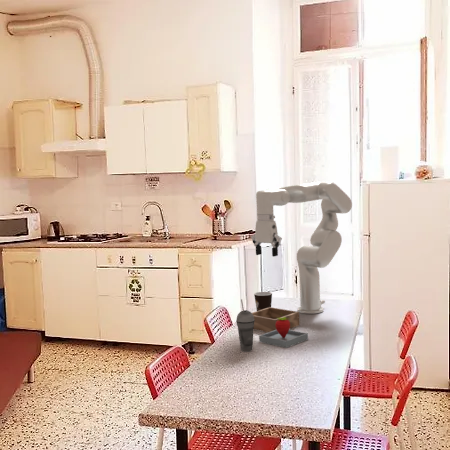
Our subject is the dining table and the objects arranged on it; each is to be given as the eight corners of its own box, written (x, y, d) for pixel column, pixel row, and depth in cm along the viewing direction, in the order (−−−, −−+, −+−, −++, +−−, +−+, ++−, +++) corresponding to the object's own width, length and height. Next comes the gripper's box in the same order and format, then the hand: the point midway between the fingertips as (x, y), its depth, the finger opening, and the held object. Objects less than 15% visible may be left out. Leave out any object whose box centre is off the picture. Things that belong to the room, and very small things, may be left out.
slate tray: (281, 333, 251) (280, 328, 251) (308, 339, 241) (307, 333, 241) (259, 341, 241) (259, 335, 241) (286, 347, 231) (286, 341, 231)
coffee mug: (273, 315, 282) (272, 295, 281) (255, 316, 282) (254, 295, 281) (272, 310, 293) (271, 290, 292) (254, 310, 293) (253, 290, 292)
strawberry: (273, 340, 239) (272, 315, 238) (279, 334, 246) (278, 311, 245) (287, 341, 237) (286, 316, 236) (293, 335, 244) (292, 311, 243)
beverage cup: (254, 352, 227) (252, 301, 225) (235, 352, 228) (233, 301, 226) (257, 347, 234) (255, 297, 232) (239, 346, 235) (236, 297, 233)
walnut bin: (270, 319, 275) (270, 307, 274) (299, 325, 263) (299, 311, 262) (246, 327, 263) (246, 314, 262) (275, 333, 251) (275, 319, 251)
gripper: (285, 217, 266) (286, 255, 267) (256, 216, 278) (257, 253, 279) (274, 219, 260) (276, 257, 262) (245, 218, 272) (247, 255, 274)
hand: (266, 255), depth 271 cm, fingers open, 9 cm apart
